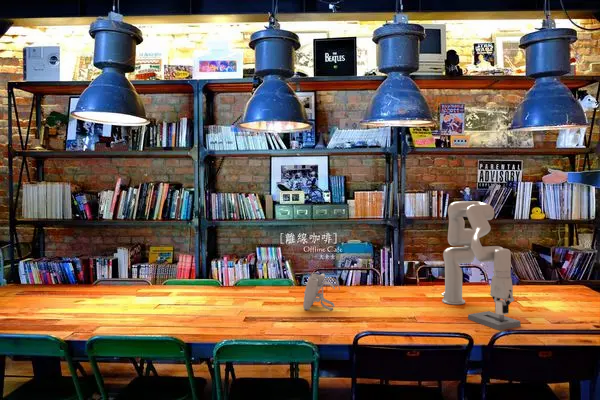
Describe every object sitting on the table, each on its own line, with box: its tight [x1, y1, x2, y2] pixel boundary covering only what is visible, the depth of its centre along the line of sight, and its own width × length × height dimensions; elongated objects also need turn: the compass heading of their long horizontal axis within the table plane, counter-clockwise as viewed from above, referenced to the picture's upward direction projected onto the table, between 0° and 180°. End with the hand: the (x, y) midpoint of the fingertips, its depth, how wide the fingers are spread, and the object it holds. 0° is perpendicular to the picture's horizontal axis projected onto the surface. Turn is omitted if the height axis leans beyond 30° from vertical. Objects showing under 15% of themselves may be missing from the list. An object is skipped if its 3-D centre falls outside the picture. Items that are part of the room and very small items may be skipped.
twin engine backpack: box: [303, 271, 341, 311], centre depth 278 cm, size 18×19×20 cm
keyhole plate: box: [467, 310, 522, 331], centre depth 247 cm, size 20×14×2 cm
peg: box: [494, 299, 509, 320], centre depth 242 cm, size 4×4×9 cm
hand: (501, 311), depth 242 cm, fingers closed on peg, 4 cm apart
